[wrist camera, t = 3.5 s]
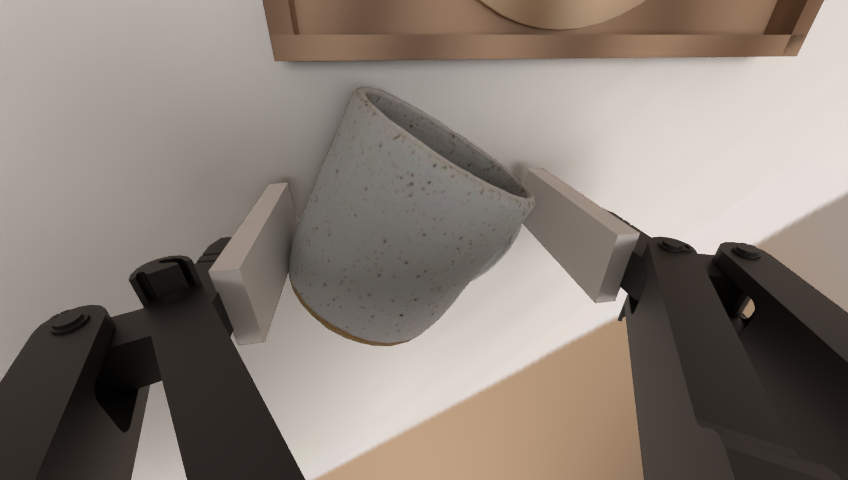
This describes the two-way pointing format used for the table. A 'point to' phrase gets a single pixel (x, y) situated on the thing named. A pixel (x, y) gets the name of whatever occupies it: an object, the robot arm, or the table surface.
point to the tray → (535, 28)
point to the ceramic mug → (399, 222)
